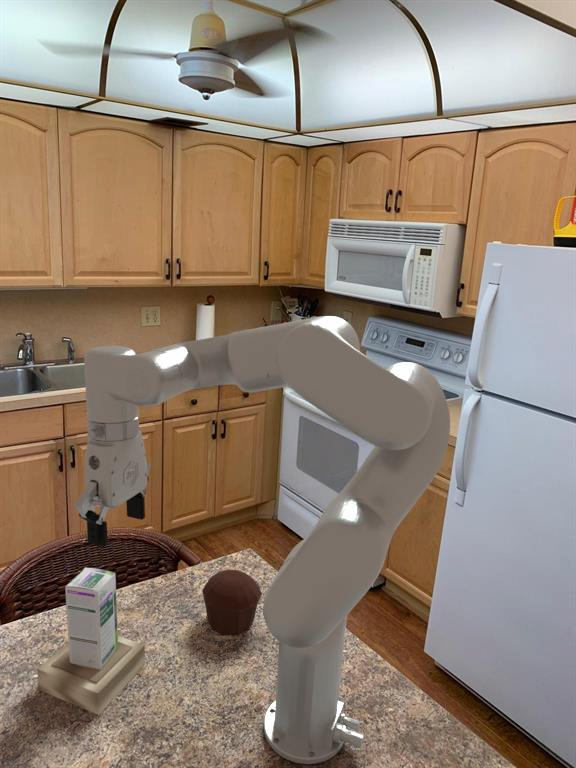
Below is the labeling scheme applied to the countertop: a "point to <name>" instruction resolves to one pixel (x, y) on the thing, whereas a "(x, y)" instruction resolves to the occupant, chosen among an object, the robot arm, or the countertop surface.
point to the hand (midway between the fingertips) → (117, 530)
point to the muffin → (231, 602)
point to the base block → (91, 676)
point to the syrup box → (92, 617)
